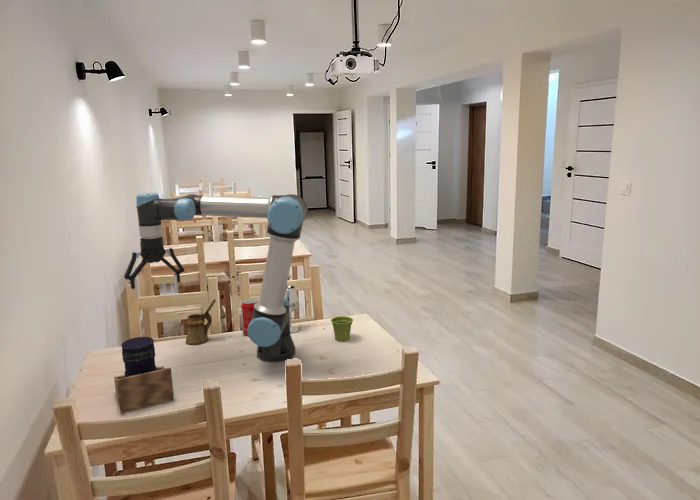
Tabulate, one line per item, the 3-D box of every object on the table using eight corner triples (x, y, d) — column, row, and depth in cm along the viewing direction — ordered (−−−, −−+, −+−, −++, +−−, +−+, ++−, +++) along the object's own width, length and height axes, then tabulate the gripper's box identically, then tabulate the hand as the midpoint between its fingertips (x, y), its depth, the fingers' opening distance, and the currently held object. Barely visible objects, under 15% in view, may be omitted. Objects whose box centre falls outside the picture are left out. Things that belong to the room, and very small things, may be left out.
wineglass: (279, 333, 219) (277, 289, 215) (284, 326, 227) (282, 284, 223) (296, 333, 218) (294, 290, 214) (301, 327, 225) (299, 285, 221)
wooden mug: (218, 343, 209) (215, 302, 205) (184, 346, 206) (181, 304, 203) (219, 335, 217) (216, 296, 214) (187, 338, 215) (183, 298, 211)
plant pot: (333, 334, 216) (332, 315, 215) (354, 335, 215) (354, 316, 213) (329, 342, 207) (329, 323, 206) (351, 343, 206) (351, 324, 204)
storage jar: (125, 394, 158) (120, 350, 155) (126, 381, 167) (121, 339, 164) (158, 388, 162) (154, 345, 159) (157, 375, 171) (153, 334, 167)
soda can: (239, 333, 219) (237, 301, 216) (253, 328, 225) (251, 297, 222) (249, 338, 214) (247, 304, 211) (264, 333, 219) (262, 300, 216)
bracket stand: (165, 380, 176) (162, 351, 174) (174, 399, 162) (171, 368, 160) (115, 392, 168) (112, 361, 166) (120, 413, 154) (116, 380, 152)
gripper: (185, 231, 185) (189, 286, 190) (111, 238, 173) (118, 297, 177) (189, 234, 179) (194, 291, 183) (113, 242, 167) (120, 302, 171)
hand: (157, 294), depth 180 cm, fingers open, 13 cm apart
